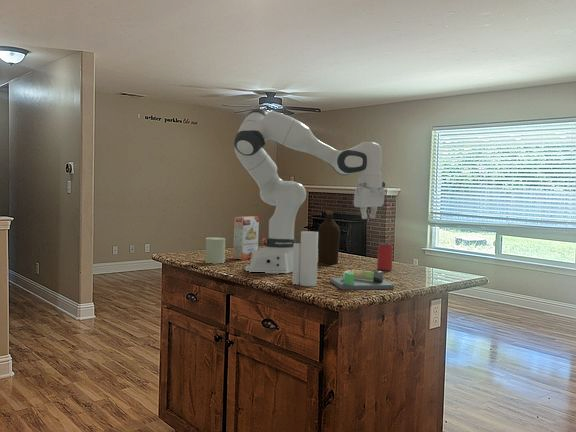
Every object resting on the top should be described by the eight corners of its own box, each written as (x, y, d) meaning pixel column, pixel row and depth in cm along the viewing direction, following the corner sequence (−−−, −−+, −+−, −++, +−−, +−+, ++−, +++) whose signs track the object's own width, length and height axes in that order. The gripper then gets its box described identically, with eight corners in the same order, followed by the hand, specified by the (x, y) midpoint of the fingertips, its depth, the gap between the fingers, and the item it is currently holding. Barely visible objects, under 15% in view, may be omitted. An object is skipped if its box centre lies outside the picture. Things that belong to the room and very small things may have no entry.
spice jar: (384, 281, 206) (384, 271, 206) (380, 282, 203) (380, 272, 203) (354, 277, 213) (354, 267, 213) (350, 278, 210) (350, 268, 210)
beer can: (391, 271, 241) (392, 244, 240) (376, 270, 242) (377, 243, 242) (392, 269, 248) (393, 243, 247) (377, 268, 249) (378, 242, 248)
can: (201, 262, 252) (201, 237, 251) (215, 260, 259) (216, 235, 258) (214, 265, 246) (214, 238, 245) (229, 263, 253) (229, 237, 252)
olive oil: (334, 265, 253) (335, 212, 252) (313, 263, 258) (315, 211, 257) (342, 262, 263) (343, 211, 261) (322, 260, 268) (323, 210, 266)
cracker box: (242, 260, 261) (243, 217, 260) (232, 259, 264) (233, 216, 263) (258, 257, 273) (259, 216, 272) (248, 256, 276) (249, 215, 275)
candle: (320, 284, 205) (321, 232, 204) (308, 287, 200) (310, 233, 198) (297, 280, 212) (298, 230, 211) (285, 282, 207) (286, 230, 206)
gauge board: (342, 289, 197) (342, 274, 196) (330, 281, 212) (330, 267, 212) (393, 289, 200) (394, 274, 200) (378, 281, 216) (379, 267, 216)
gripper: (365, 183, 201) (364, 220, 202) (387, 183, 218) (386, 217, 219) (350, 182, 205) (349, 219, 206) (373, 183, 222) (372, 216, 223)
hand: (368, 218), depth 213 cm, fingers open, 6 cm apart
